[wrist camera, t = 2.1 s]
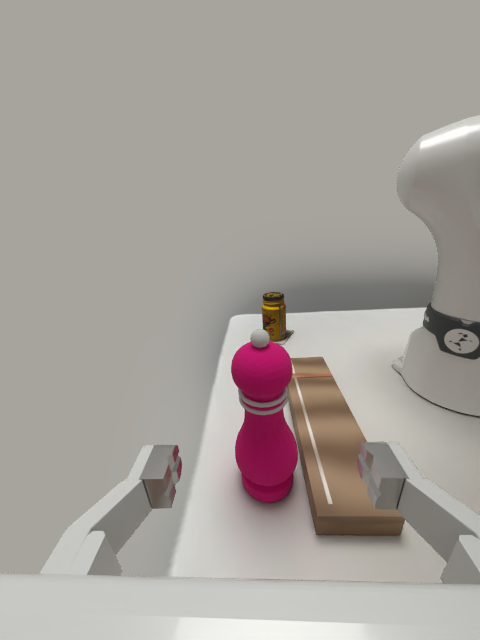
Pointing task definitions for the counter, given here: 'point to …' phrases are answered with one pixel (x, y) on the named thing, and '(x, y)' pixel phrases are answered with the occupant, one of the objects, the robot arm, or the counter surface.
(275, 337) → the condiment
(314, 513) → the board
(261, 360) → the pepper mill
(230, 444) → the counter surface
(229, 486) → the counter surface
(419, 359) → the robot arm
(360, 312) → the counter surface
